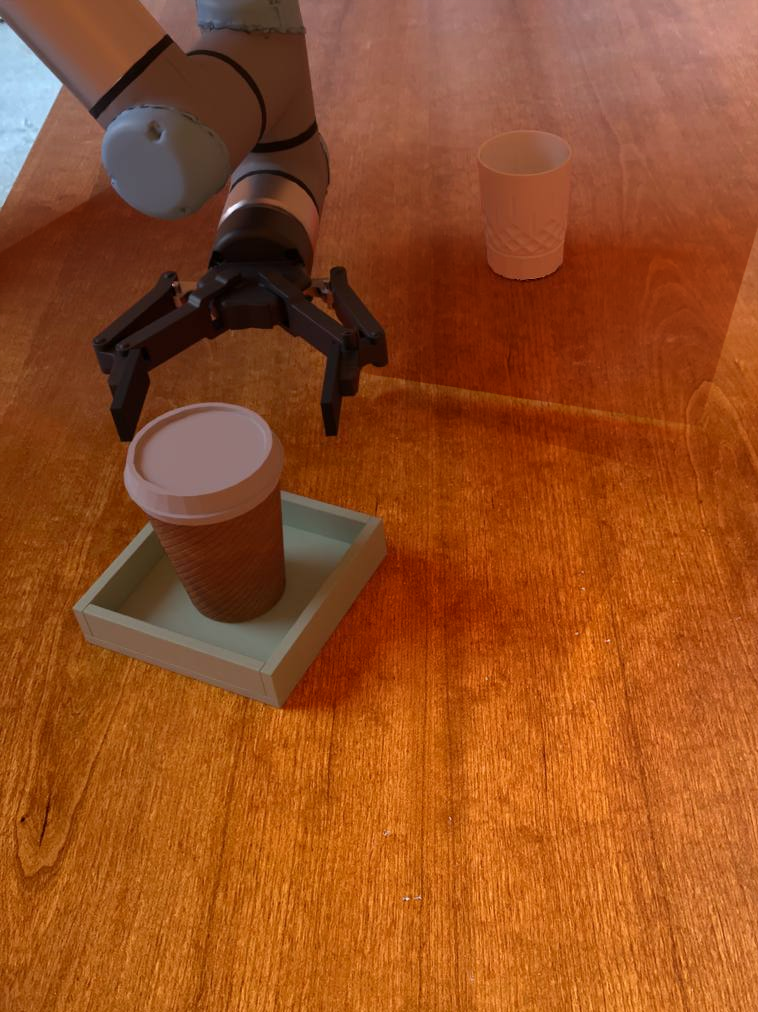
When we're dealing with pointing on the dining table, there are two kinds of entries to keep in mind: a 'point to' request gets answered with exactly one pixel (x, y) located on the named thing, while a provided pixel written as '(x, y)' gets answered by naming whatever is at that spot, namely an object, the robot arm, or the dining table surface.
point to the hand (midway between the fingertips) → (224, 423)
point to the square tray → (249, 644)
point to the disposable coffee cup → (214, 505)
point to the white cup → (524, 201)
